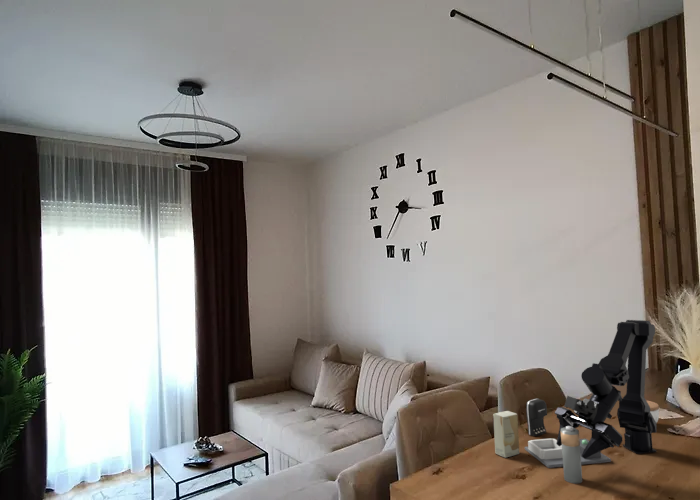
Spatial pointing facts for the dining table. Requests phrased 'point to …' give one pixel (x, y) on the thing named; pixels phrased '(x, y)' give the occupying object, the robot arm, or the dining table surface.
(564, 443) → the big cell
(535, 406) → the battery charger
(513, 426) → the skincare box
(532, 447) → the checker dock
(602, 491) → the dining table surface
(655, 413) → the lidded jar
